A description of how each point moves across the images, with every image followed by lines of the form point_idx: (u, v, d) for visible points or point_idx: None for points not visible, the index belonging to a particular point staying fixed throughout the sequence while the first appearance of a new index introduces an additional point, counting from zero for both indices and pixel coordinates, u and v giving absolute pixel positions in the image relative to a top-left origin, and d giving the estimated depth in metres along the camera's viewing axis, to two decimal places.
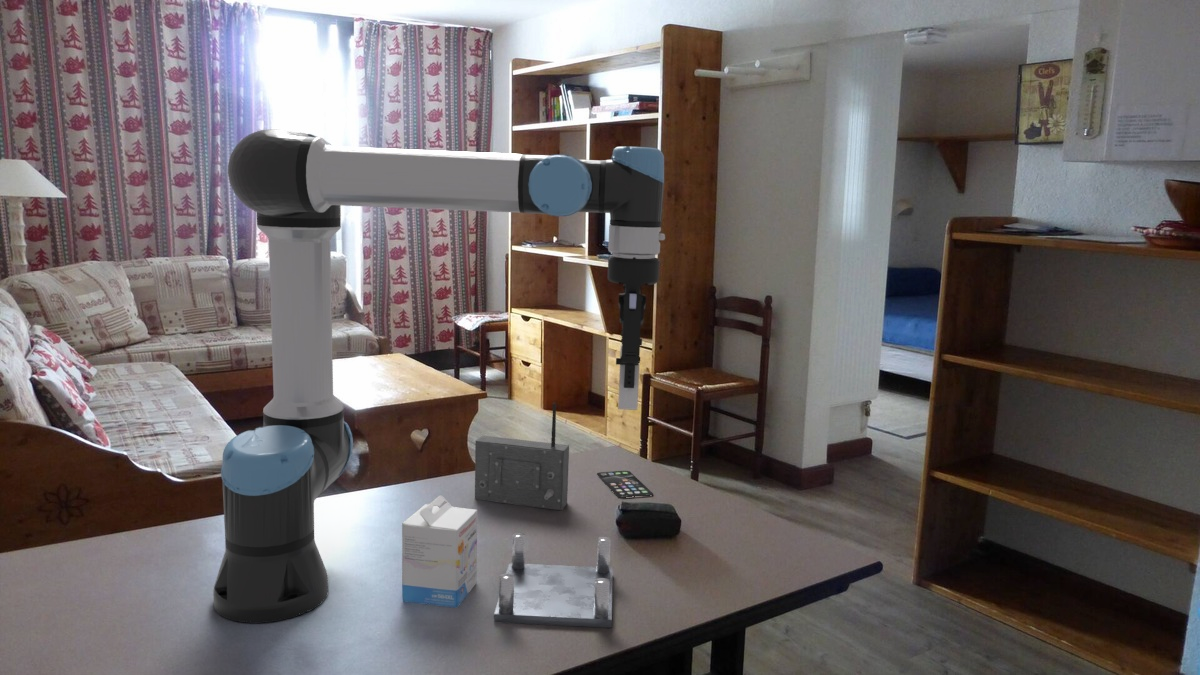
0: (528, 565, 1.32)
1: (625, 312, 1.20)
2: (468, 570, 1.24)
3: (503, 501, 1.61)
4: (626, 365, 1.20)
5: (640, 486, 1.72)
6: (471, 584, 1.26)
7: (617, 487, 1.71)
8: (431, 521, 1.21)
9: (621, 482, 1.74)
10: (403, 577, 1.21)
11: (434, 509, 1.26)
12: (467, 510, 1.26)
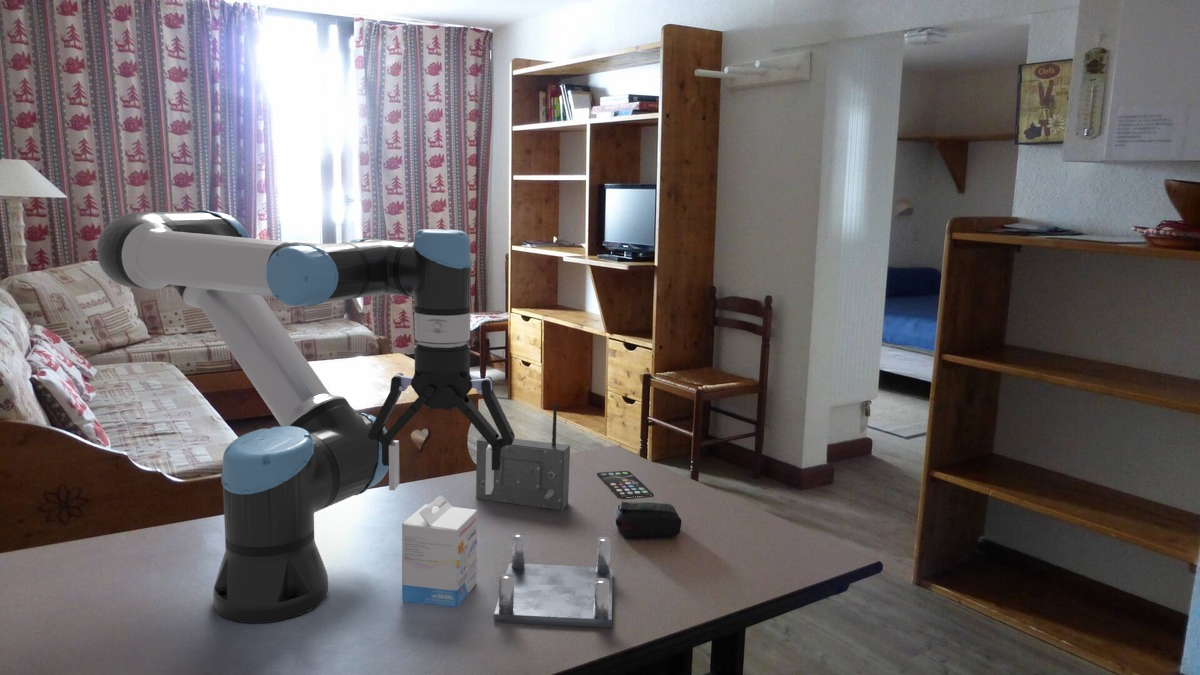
0: (528, 565, 1.32)
1: None
2: (468, 570, 1.24)
3: (504, 501, 1.61)
4: None
5: (640, 486, 1.72)
6: (471, 584, 1.26)
7: (617, 487, 1.71)
8: (431, 521, 1.21)
9: (621, 482, 1.74)
10: (403, 577, 1.21)
11: (434, 509, 1.26)
12: (467, 510, 1.26)
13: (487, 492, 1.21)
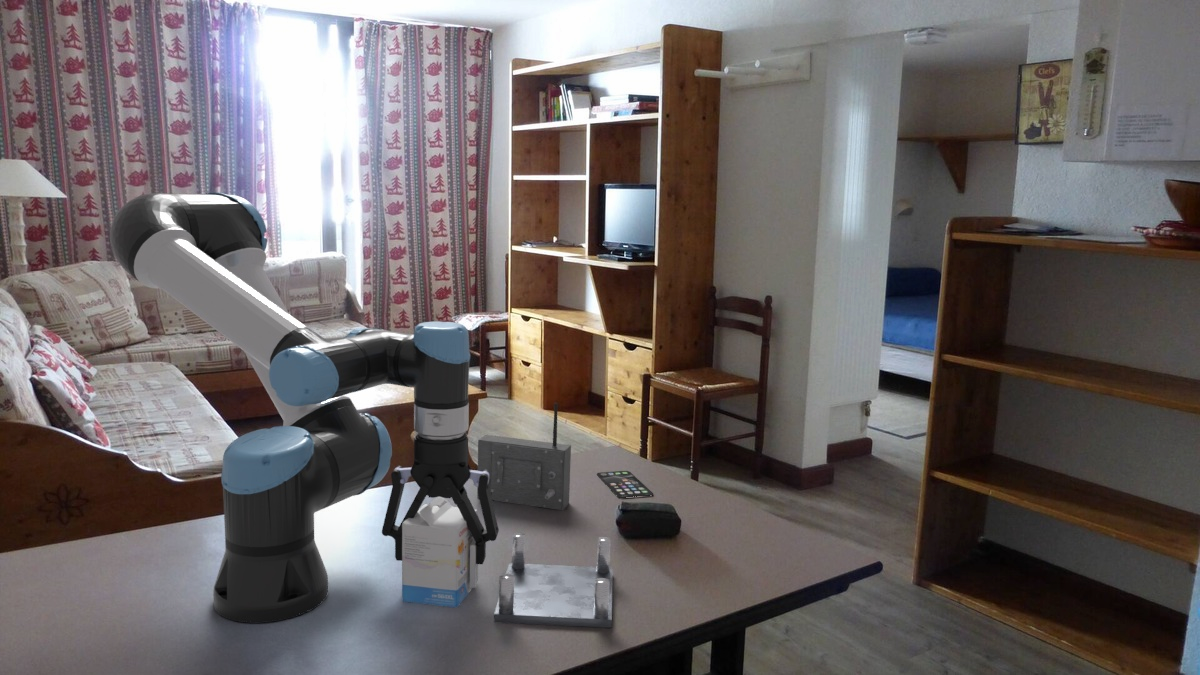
0: (528, 565, 1.32)
1: None
2: (468, 570, 1.24)
3: (505, 500, 1.61)
4: None
5: (640, 486, 1.72)
6: None
7: (617, 487, 1.71)
8: (431, 521, 1.21)
9: (621, 482, 1.74)
10: (403, 577, 1.21)
11: (434, 509, 1.26)
12: None
13: (471, 586, 1.24)
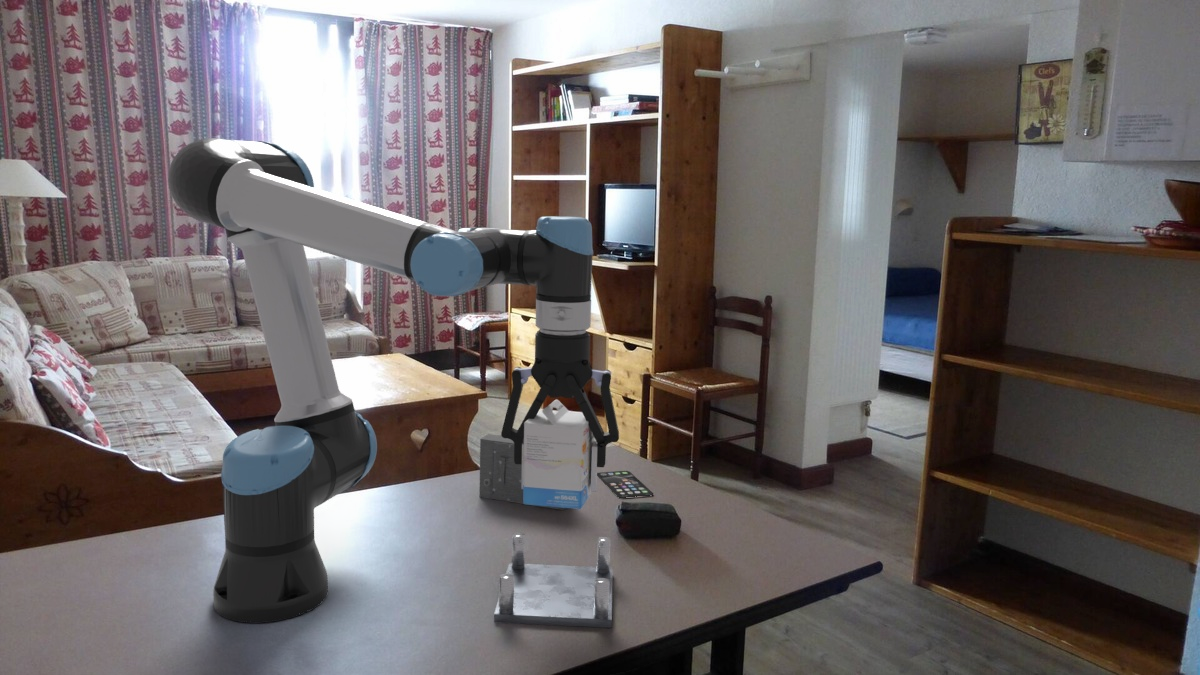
0: (528, 565, 1.32)
1: None
2: (588, 474, 1.21)
3: (507, 499, 1.61)
4: None
5: (640, 486, 1.72)
6: (590, 490, 1.23)
7: (617, 487, 1.71)
8: (553, 420, 1.17)
9: (621, 482, 1.74)
10: (524, 479, 1.18)
11: None
12: None
13: (592, 489, 1.21)
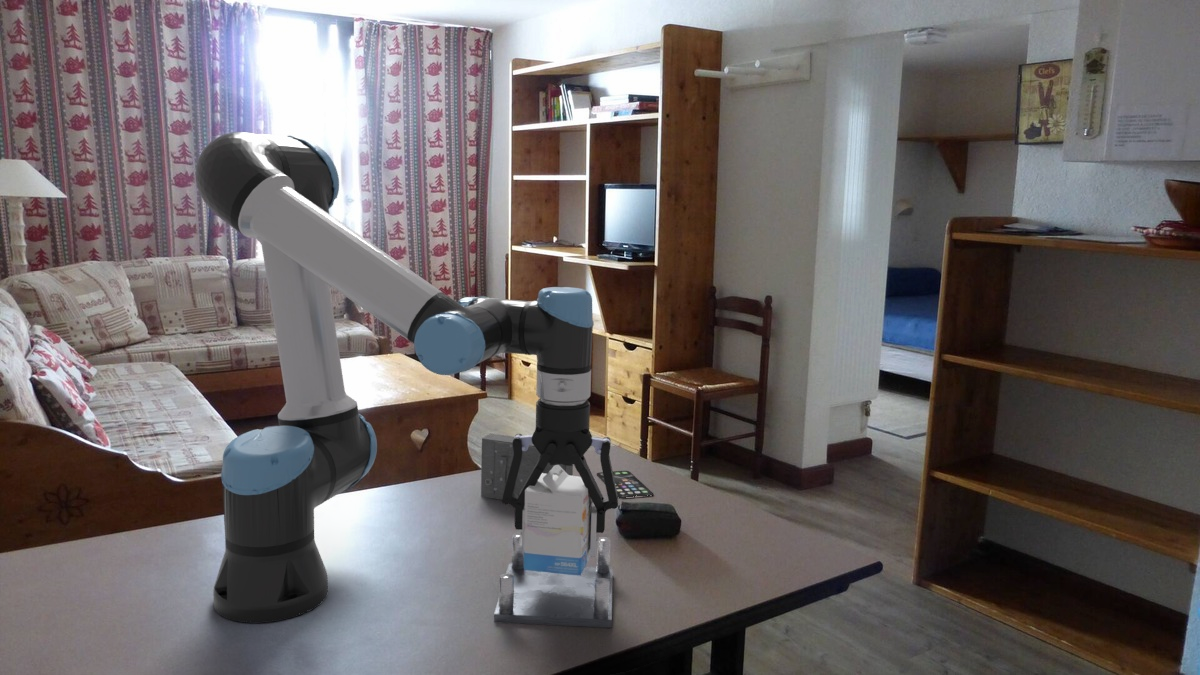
0: None
1: None
2: (588, 539, 1.23)
3: None
4: None
5: (640, 486, 1.72)
6: (589, 554, 1.25)
7: (617, 487, 1.71)
8: (554, 488, 1.19)
9: (621, 482, 1.74)
10: (525, 545, 1.20)
11: None
12: None
13: (592, 554, 1.22)
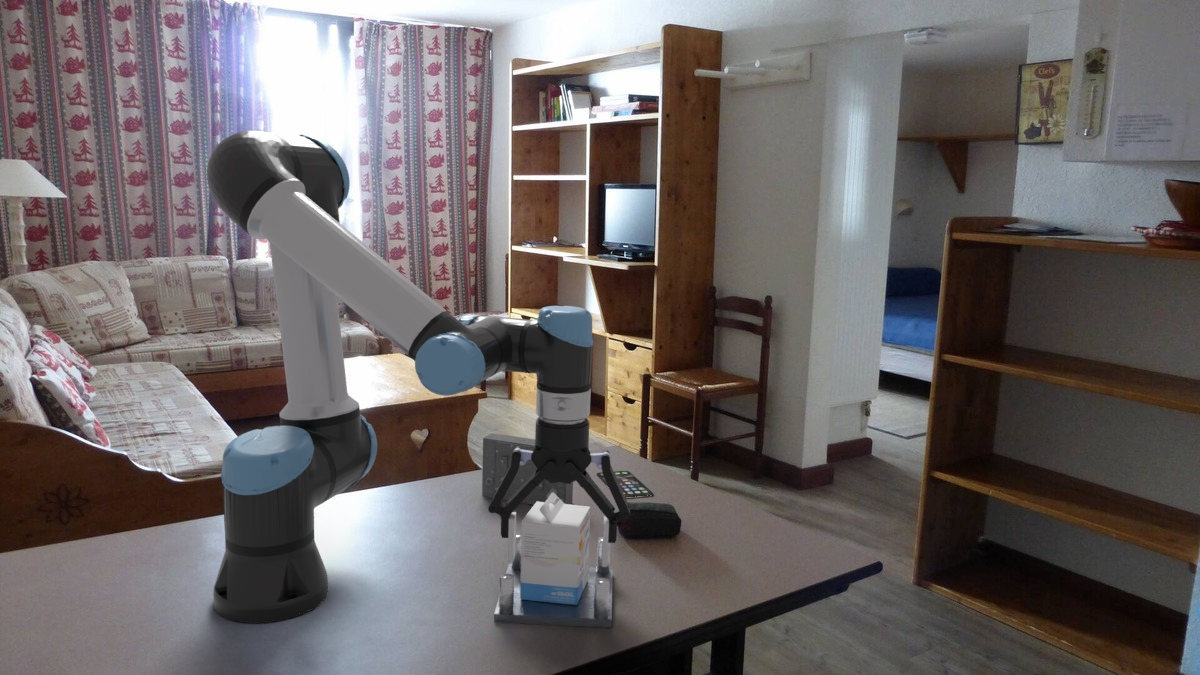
0: None
1: None
2: (584, 568, 1.24)
3: None
4: None
5: (640, 486, 1.72)
6: (585, 582, 1.26)
7: None
8: (551, 518, 1.20)
9: (621, 482, 1.74)
10: (522, 575, 1.21)
11: None
12: (581, 507, 1.26)
13: (603, 564, 1.23)
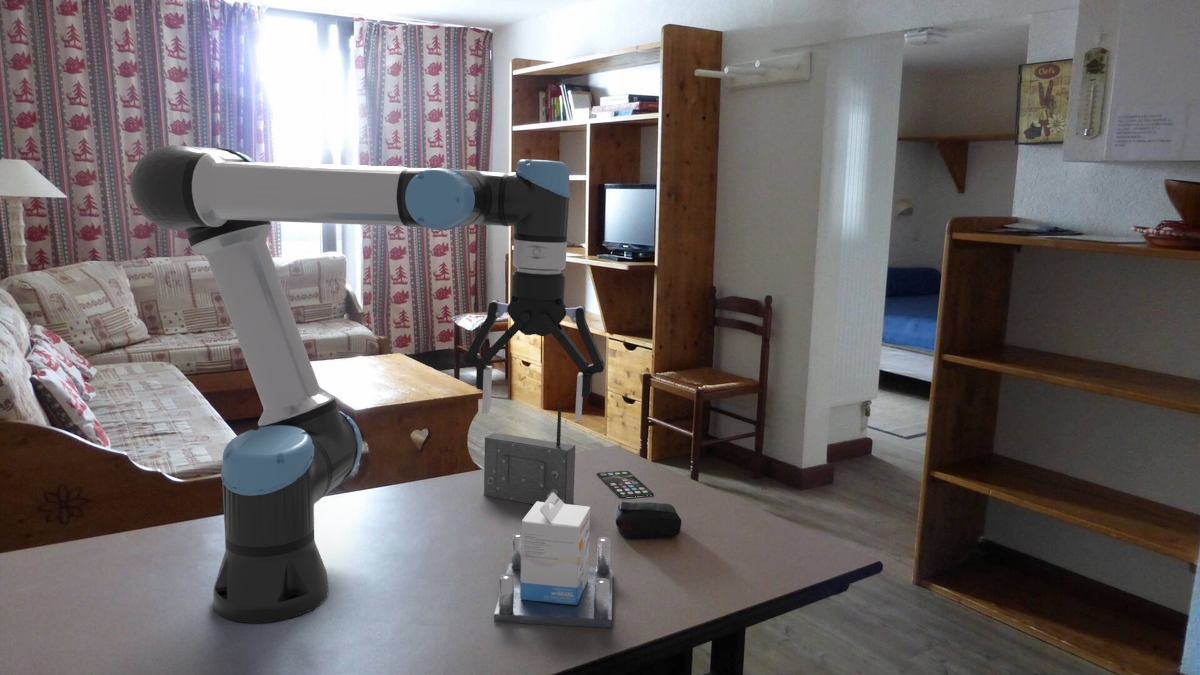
0: None
1: None
2: (584, 568, 1.24)
3: (510, 498, 1.62)
4: None
5: (640, 486, 1.72)
6: (585, 582, 1.26)
7: (617, 487, 1.71)
8: (551, 518, 1.20)
9: (621, 482, 1.74)
10: (522, 575, 1.21)
11: None
12: (581, 507, 1.26)
13: (577, 418, 1.25)
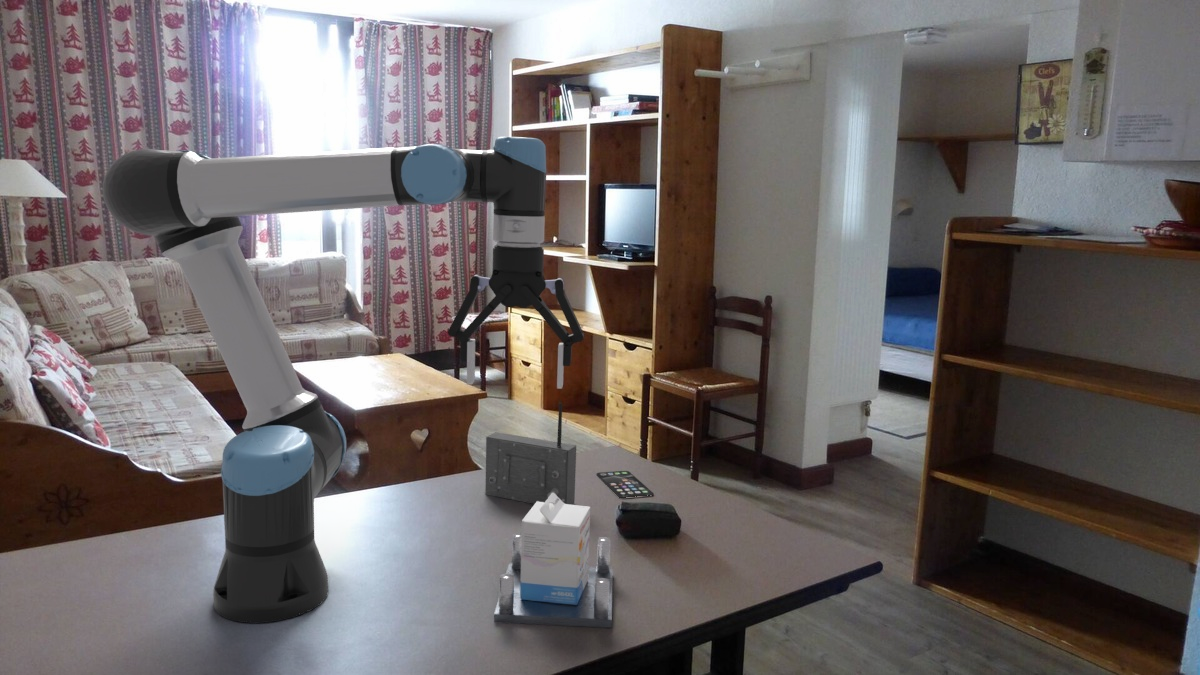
0: None
1: None
2: (584, 568, 1.24)
3: (511, 498, 1.62)
4: None
5: (640, 486, 1.72)
6: (585, 582, 1.26)
7: (617, 487, 1.71)
8: (551, 518, 1.20)
9: (621, 482, 1.74)
10: (522, 575, 1.21)
11: None
12: (581, 507, 1.26)
13: (558, 386, 1.29)
